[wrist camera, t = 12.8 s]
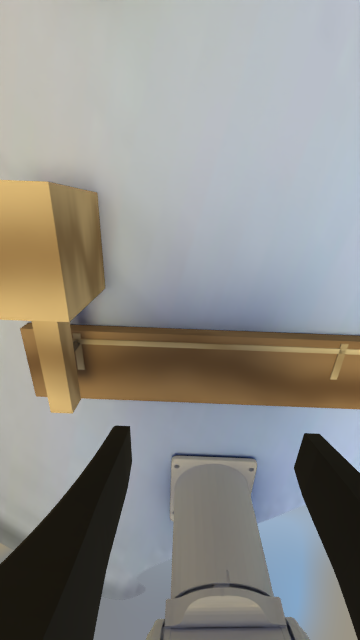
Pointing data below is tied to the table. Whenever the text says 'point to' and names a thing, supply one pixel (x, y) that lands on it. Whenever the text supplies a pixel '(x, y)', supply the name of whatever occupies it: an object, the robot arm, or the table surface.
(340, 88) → the table surface
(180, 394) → the brown wooden flat strip
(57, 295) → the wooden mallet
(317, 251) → the table surface
